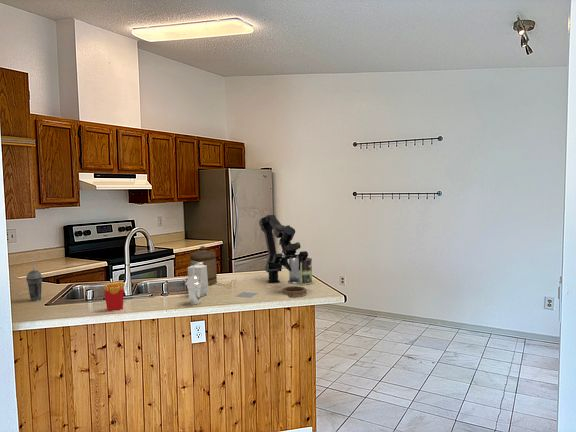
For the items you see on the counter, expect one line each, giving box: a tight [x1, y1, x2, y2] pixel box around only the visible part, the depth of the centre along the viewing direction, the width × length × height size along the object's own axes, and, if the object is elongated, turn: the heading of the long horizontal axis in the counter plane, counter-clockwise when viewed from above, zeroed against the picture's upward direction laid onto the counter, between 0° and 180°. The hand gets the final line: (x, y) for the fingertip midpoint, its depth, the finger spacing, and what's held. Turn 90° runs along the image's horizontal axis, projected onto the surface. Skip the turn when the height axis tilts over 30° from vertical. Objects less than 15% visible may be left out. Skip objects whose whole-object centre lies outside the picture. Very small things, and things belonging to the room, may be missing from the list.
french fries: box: [103, 280, 126, 312], centre depth 206 cm, size 9×4×13 cm, turn 109°
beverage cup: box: [25, 261, 43, 302], centre depth 224 cm, size 7×7×20 cm
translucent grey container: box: [189, 245, 218, 287], centre depth 256 cm, size 15×15×22 cm
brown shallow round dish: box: [282, 285, 308, 298], centre depth 229 cm, size 13×13×3 cm
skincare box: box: [187, 265, 209, 298], centre depth 230 cm, size 8×7×16 cm
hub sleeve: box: [287, 257, 301, 285], centre depth 228 cm, size 7×7×13 cm
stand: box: [234, 291, 259, 299], centre depth 225 cm, size 9×9×1 cm
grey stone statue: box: [185, 262, 204, 305], centre depth 215 cm, size 8×9×20 cm
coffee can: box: [298, 257, 313, 286], centre depth 253 cm, size 10×10×14 cm
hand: (295, 270), depth 227 cm, fingers closed on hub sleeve, 5 cm apart
